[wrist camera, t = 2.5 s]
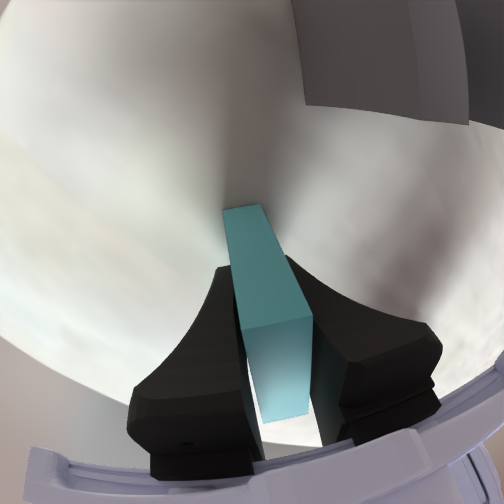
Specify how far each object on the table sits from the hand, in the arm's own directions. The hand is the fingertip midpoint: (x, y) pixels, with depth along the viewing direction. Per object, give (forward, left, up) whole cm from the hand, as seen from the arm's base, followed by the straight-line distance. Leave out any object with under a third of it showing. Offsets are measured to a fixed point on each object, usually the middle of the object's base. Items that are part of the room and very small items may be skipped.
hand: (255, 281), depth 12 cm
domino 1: (0, 0, -2) cm, 2 cm away
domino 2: (+9, -4, -2) cm, 10 cm away
